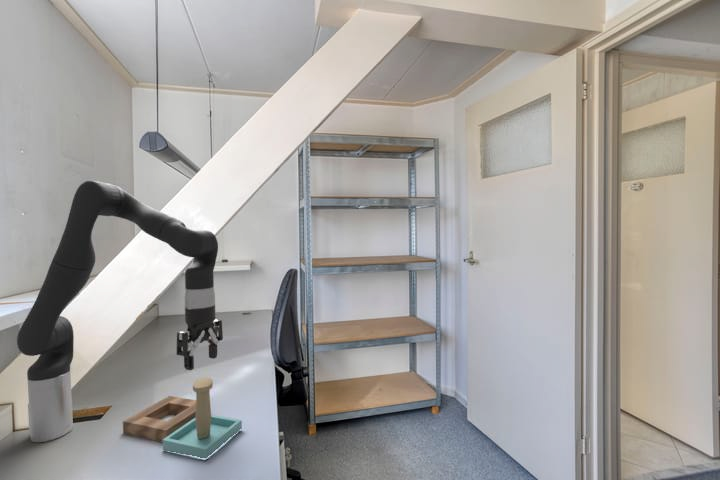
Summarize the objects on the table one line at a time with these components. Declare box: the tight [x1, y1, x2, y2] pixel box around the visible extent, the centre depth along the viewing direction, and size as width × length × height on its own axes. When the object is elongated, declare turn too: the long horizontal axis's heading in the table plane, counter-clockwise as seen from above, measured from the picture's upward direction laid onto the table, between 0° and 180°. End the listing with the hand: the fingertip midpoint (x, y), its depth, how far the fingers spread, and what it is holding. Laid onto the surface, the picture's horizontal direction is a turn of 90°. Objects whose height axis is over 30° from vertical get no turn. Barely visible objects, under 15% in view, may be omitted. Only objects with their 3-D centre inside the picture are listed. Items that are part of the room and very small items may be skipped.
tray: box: [162, 414, 243, 458], centre depth 97 cm, size 14×14×3 cm
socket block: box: [122, 395, 196, 443], centre depth 106 cm, size 16×16×4 cm
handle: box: [192, 377, 213, 439], centre depth 96 cm, size 5×6×15 cm
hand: (201, 363), depth 96 cm, fingers open, 8 cm apart
